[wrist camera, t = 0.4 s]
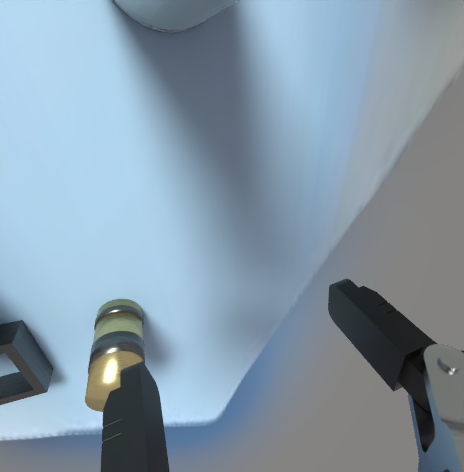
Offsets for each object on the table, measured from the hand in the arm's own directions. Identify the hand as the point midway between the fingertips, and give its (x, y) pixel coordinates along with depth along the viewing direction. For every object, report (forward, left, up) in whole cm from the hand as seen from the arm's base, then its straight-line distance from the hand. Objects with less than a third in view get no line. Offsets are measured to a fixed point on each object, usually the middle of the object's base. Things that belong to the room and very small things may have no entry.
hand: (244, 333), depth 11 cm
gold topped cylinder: (+16, -9, -19) cm, 27 cm away
